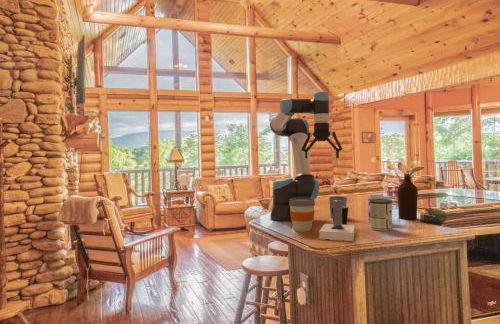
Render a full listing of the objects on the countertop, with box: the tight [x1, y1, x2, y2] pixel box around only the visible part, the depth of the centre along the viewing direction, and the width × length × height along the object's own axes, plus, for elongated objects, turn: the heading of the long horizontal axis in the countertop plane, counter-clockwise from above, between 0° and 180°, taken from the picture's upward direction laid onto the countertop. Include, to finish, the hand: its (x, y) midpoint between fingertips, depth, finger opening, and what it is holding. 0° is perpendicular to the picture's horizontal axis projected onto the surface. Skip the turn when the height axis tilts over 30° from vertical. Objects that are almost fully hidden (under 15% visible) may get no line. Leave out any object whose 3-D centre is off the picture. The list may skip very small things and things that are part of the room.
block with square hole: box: [319, 223, 356, 242], centre depth 170 cm, size 18×14×4 cm
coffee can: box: [369, 198, 393, 232], centre depth 184 cm, size 10×10×14 cm
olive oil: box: [396, 173, 419, 221], centre depth 212 cm, size 11×11×25 cm
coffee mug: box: [331, 205, 349, 225], centre depth 193 cm, size 12×9×10 cm
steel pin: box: [332, 200, 342, 229], centre depth 170 cm, size 4×4×16 cm
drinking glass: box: [328, 196, 348, 219], centre depth 218 cm, size 10×10×12 cm
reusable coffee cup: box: [289, 198, 316, 232], centre depth 185 cm, size 12×13×15 cm
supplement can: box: [367, 193, 385, 223], centre depth 203 cm, size 8×8×15 cm
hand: (322, 164), depth 189 cm, fingers open, 13 cm apart
